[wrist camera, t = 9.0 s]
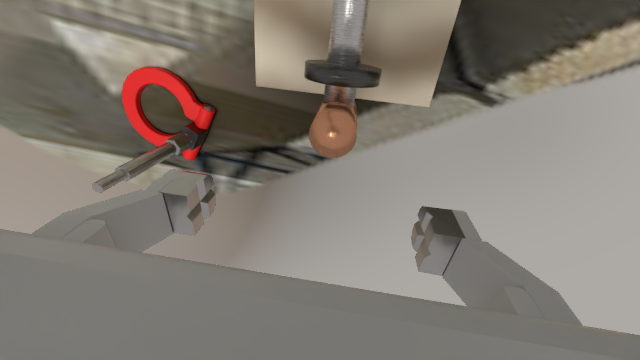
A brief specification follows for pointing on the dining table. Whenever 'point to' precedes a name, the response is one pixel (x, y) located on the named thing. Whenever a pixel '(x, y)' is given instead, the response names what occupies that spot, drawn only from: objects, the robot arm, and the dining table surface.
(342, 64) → the flanged metal rod
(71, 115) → the dining table surface
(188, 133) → the tow hook
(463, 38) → the dining table surface
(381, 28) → the base board
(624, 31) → the dining table surface
